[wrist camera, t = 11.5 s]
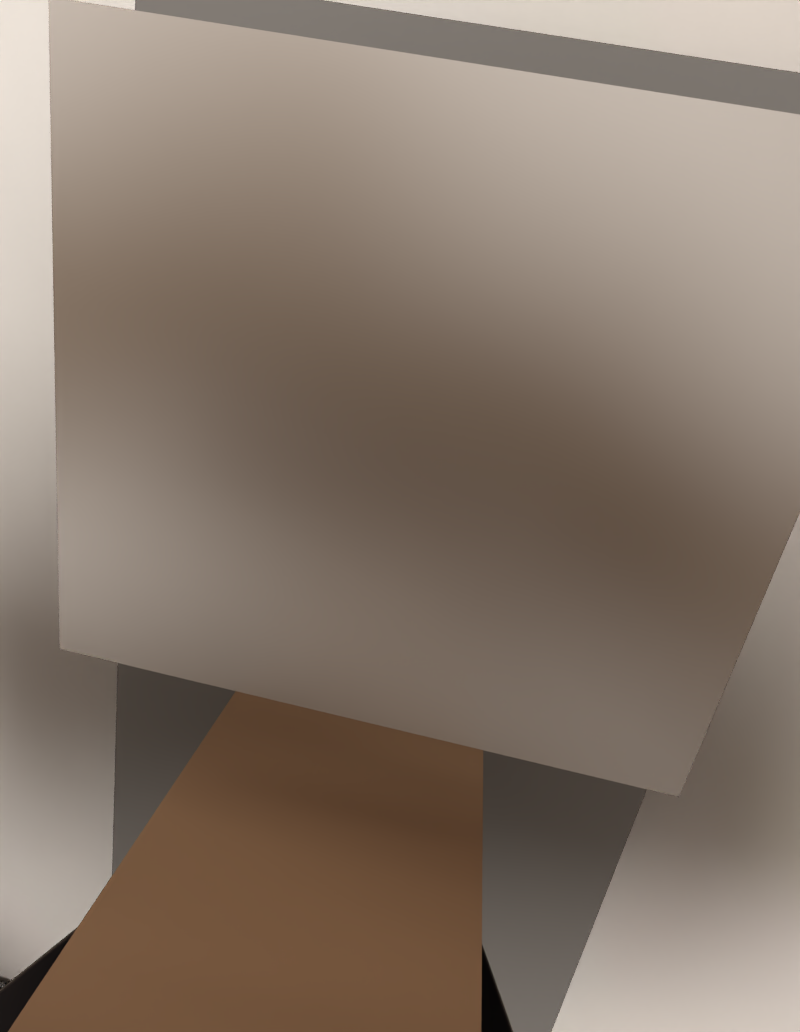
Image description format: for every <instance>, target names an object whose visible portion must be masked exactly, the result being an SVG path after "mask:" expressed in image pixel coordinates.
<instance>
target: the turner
mask: <svg viewBox="0 0 800 1032" xmlns="http://www.w3.org/2000/svg"><path fill="white" fill-rule="evenodd" d="M49 55H50V114H51V173H52V232H53V291H54V350H55V409H56V468H57V527H58V586H59V645H60V649H62V650H66V651H70V652H74V653H78V654H83V655H87V656H91V657H95V658H99V659H103V660H108V661H112V662H116V663H120V664H124V665H129V666H133V667H137V668H141V669H145V670H150V671H154V672H158V673H162V674H166V675H170V676H175V677H179V678H183V679H187V680H191V681H196V682H200V683H204V684H208V685H212V686H216V687H221V688H225V689H229V690H233V691H235V693H234V694H233V696H232V697H231V699H230V700H229V702H228V703H227V705H226V706H225V708H224V709H223V711H222V712H221V714H220V715H219V717H218V718H217V720H216V721H215V723H214V724H213V726H212V727H211V729H210V730H209V732H208V733H207V735H206V736H205V738H204V739H203V741H202V742H201V744H200V745H199V747H198V748H197V750H196V751H195V753H194V754H193V756H192V757H191V759H190V760H189V762H188V763H187V765H186V766H185V768H184V769H183V771H182V772H181V774H180V775H179V777H178V778H177V780H176V781H175V783H174V784H173V786H172V787H171V789H170V790H169V792H168V793H167V795H166V796H165V798H164V799H163V801H162V802H161V804H160V805H159V807H158V808H157V810H156V811H155V813H154V814H153V816H152V817H151V819H150V820H149V821H148V823H147V824H146V826H145V827H144V829H143V830H142V832H141V833H140V835H139V836H138V838H137V839H136V841H135V842H134V844H133V845H132V847H131V848H130V850H129V851H128V853H127V854H126V856H125V857H124V859H123V860H122V862H121V863H120V865H119V866H118V868H117V869H116V871H115V872H114V874H113V875H112V877H111V878H110V880H109V881H108V883H107V884H106V886H105V887H104V889H103V890H102V892H101V893H100V895H99V896H98V898H97V899H96V901H95V902H94V904H93V905H92V907H91V908H90V910H89V911H88V913H87V914H86V916H85V917H84V919H83V920H82V922H81V923H80V925H79V926H78V928H77V929H76V931H75V932H74V934H73V935H72V937H71V938H70V940H69V941H68V943H67V944H66V946H65V947H64V949H63V950H62V952H61V953H60V955H59V956H58V957H57V959H56V960H55V962H54V963H53V965H52V966H51V968H50V969H49V971H48V972H47V974H46V975H45V977H44V978H43V980H42V981H41V983H40V984H39V986H38V987H37V989H36V990H35V992H34V993H33V995H32V996H31V998H30V999H29V1001H28V1002H27V1004H26V1005H25V1007H24V1008H23V1010H22V1011H21V1013H20V1014H19V1016H18V1017H17V1019H16V1020H15V1022H14V1023H13V1025H12V1026H11V1028H10V1029H9V1031H8V1032H481V1003H482V856H483V750H484V751H489V752H493V753H497V754H501V755H505V756H509V757H514V758H518V759H522V760H526V761H530V762H535V763H539V764H543V765H547V766H551V767H556V768H560V769H564V770H568V771H572V772H576V773H581V774H585V775H589V776H593V777H597V778H602V779H606V780H610V781H614V782H618V783H622V784H627V785H631V786H635V787H639V788H643V789H648V790H652V791H656V792H660V793H664V794H669V795H673V796H677V797H679V796H680V793H681V791H682V789H683V786H684V784H685V782H686V779H687V777H688V775H689V772H690V770H691V767H692V765H693V763H694V760H695V758H696V756H697V753H698V751H699V749H700V746H701V744H702V741H703V739H704V737H705V734H706V732H707V730H708V727H709V725H710V723H711V720H712V718H713V716H714V713H715V711H716V708H717V706H718V704H719V701H720V699H721V697H722V694H723V692H724V690H725V687H726V685H727V682H728V680H729V678H730V675H731V673H732V671H733V668H734V666H735V664H736V661H737V659H738V657H739V654H740V652H741V649H742V647H743V645H744V642H745V640H746V638H747V635H748V633H749V631H750V628H751V626H752V624H753V621H754V619H755V616H756V614H757V612H758V609H759V607H760V605H761V602H762V600H763V598H764V595H765V593H766V590H767V588H768V586H769V583H770V581H771V579H772V576H773V574H774V572H775V569H776V567H777V565H778V562H779V560H780V557H781V555H782V553H783V550H784V548H785V546H786V543H787V541H788V539H789V536H790V534H791V531H792V529H793V527H794V524H795V522H796V520H797V517H798V515H799V513H800V115H799V114H793V113H787V112H780V111H774V110H768V109H761V108H755V107H748V106H742V105H736V104H729V103H723V102H717V101H710V100H704V99H697V98H691V97H685V96H678V95H672V94H666V93H659V92H653V91H646V90H640V89H634V88H627V87H621V86H615V85H608V84H602V83H595V82H589V81H583V80H576V79H570V78H564V77H557V76H551V75H544V74H538V73H532V72H525V71H519V70H513V69H506V68H500V67H493V66H487V65H481V64H474V63H468V62H461V61H455V60H449V59H442V58H436V57H430V56H423V55H417V54H410V53H404V52H398V51H391V50H385V49H379V48H372V47H366V46H359V45H353V44H347V43H340V42H334V41H328V40H321V39H315V38H308V37H302V36H296V35H289V34H283V33H277V32H270V31H264V30H257V29H251V28H245V27H238V26H232V25H226V24H219V23H213V22H206V21H200V20H194V19H187V18H181V17H175V16H168V15H162V14H155V13H149V12H143V11H136V10H130V9H124V8H117V7H111V6H104V5H98V4H92V3H85V2H79V1H73V0H49Z"/></svg>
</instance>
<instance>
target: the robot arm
mask: <svg viewBox="0 0 800 1032" xmlns="http://www.w3.org/2000/svg"><path fill="white" fill-rule="evenodd" d="M77 928H78V927H77ZM77 928H76V929H77ZM76 929H75V930H73V931H72V932H71V933H70V934H69V935H67V936H66V937H65V938H64V939H62V940H61V941H60V942H59V943H57V944H56V945H55V946H54V947H52V948H51V949H50V950H49V951H47V952H46V953H45V954H44V955H43V956H41V957H40V958H39V959H38V960H36V961H35V962H34V963H33V964H31V965H30V966H29V967H28V968H26V969H25V970H24V971H23V972H21V973H20V974H19V975H18V976H17V977H15V978H14V979H13V980H12V981H10V982H9V983H8V984H7V985H5V986H4V987H3V988H1V987H0V1032H8V1031H9V1029H10V1028H11V1026H12V1025H13V1023H14V1022H15V1020H16V1019H17V1017H18V1016H19V1014H20V1013H21V1011H22V1010H23V1008H24V1007H25V1005H26V1004H27V1002H28V1001H29V999H30V998H31V996H32V995H33V993H34V992H35V990H36V989H37V987H38V986H39V984H40V983H41V981H42V980H43V978H44V977H45V975H46V974H47V972H48V971H49V969H50V968H51V966H52V965H53V963H54V962H55V960H56V959H57V957H58V956H59V955H60V953H61V952H62V950H63V949H64V947H65V946H66V944H67V943H68V941H69V940H70V938H71V937H72V935H73V934H74V932H75V931H76ZM481 1032H513V1029H512V1026H511V1023H510V1021H509V1018H508V1015H507V1012H506V1009H505V1007H504V1004H503V1001H502V998H501V995H500V992H499V990H498V987H497V984H496V981H495V978H494V976H493V973H492V970H491V967H490V964H489V962H488V959H487V956H486V953H485V950H484V948H483V945H482V1003H481Z"/></svg>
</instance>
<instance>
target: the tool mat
mask: <svg viewBox="0 0 800 1032" xmlns="http://www.w3.org/2000/svg"><path fill="white" fill-rule="evenodd" d="M135 10H136V11H143V12H149V13H155V14H162V15H168V16H175V17H181V18H187V19H194V20H200V21H206V22H213V23H219V24H226V25H232V26H238V27H245V28H251V29H257V30H264V31H270V32H277V33H283V34H289V35H296V36H302V37H308V38H315V39H321V40H328V41H334V42H340V43H347V44H353V45H359V46H366V47H372V48H379V49H385V50H391V51H398V52H404V53H410V54H417V55H423V56H430V57H436V58H442V59H449V60H455V61H461V62H468V63H474V64H481V65H487V66H493V67H500V68H506V69H513V70H519V71H525V72H532V73H538V74H544V75H551V76H557V77H564V78H570V79H576V80H583V81H589V82H595V83H602V84H608V85H615V86H621V87H627V88H634V89H640V90H646V91H653V92H659V93H666V94H672V95H678V96H685V97H691V98H697V99H704V100H710V101H717V102H723V103H729V104H736V105H742V106H748V107H755V108H761V109H768V110H774V111H780V112H787V113H793V114H799V115H800V73H797V72H791V71H784V70H777V69H771V68H764V67H758V66H751V65H744V64H738V63H731V62H725V61H718V60H712V59H705V58H698V57H692V56H685V55H679V54H672V53H666V52H659V51H652V50H646V49H639V48H633V47H626V46H620V45H613V44H606V43H600V42H593V41H587V40H580V39H574V38H567V37H560V36H554V35H547V34H541V33H534V32H528V31H521V30H514V29H508V28H501V27H495V26H488V25H482V24H475V23H468V22H462V21H455V20H449V19H442V18H436V17H429V16H422V15H416V14H409V13H403V12H396V11H389V10H383V9H376V8H370V7H363V6H357V5H350V4H343V3H337V2H330V1H324V0H135ZM234 693H235V691H233V690H229V689H225V688H221V687H216V686H212V685H208V684H204V683H200V682H196V681H191V680H187V679H183V678H179V677H175V676H170V675H166V674H162V673H158V672H154V671H150V670H145V669H141V668H137V667H133V666H129V665H124V664H120V663H118V674H117V712H116V749H115V787H114V825H113V863H112V875H113V874H114V872H115V871H116V869H117V868H118V866H119V865H120V863H121V862H122V860H123V859H124V857H125V856H126V854H127V853H128V851H129V850H130V848H131V847H132V845H133V844H134V842H135V841H136V839H137V838H138V836H139V835H140V833H141V832H142V830H143V829H144V827H145V826H146V824H147V823H148V821H149V820H150V819H151V817H152V816H153V814H154V813H155V811H156V810H157V808H158V807H159V805H160V804H161V802H162V801H163V799H164V798H165V796H166V795H167V793H168V792H169V790H170V789H171V787H172V786H173V784H174V783H175V781H176V780H177V778H178V777H179V775H180V774H181V772H182V771H183V769H184V768H185V766H186V765H187V763H188V762H189V760H190V759H191V757H192V756H193V754H194V753H195V751H196V750H197V748H198V747H199V745H200V744H201V742H202V741H203V739H204V738H205V736H206V735H207V733H208V732H209V730H210V729H211V727H212V726H213V724H214V723H215V721H216V720H217V718H218V717H219V715H220V714H221V712H222V711H223V709H224V708H225V706H226V705H227V703H228V702H229V700H230V699H231V697H232V696H233V694H234ZM646 790H647V789H643V788H639V787H635V786H631V785H627V784H622V783H618V782H614V781H610V780H606V779H602V778H597V777H593V776H589V775H585V774H581V773H576V772H572V771H568V770H564V769H560V768H556V767H551V766H547V765H543V764H539V763H535V762H530V761H526V760H522V759H518V758H514V757H509V756H505V755H501V754H497V753H493V752H489V751H484V750H483V856H482V945H483V948H484V950H485V953H486V956H487V959H488V962H489V964H490V967H491V970H492V973H493V976H494V978H495V981H496V984H497V987H498V990H499V992H500V995H501V998H502V1001H503V1004H504V1007H505V1009H506V1012H507V1015H508V1018H509V1021H510V1023H511V1026H512V1029H513V1032H551V1031H552V1028H553V1026H554V1023H555V1021H556V1018H557V1016H558V1013H559V1011H560V1008H561V1006H562V1003H563V1000H564V998H565V995H566V993H567V990H568V988H569V985H570V983H571V980H572V978H573V975H574V973H575V970H576V968H577V965H578V962H579V960H580V957H581V955H582V952H583V950H584V947H585V945H586V942H587V940H588V937H589V935H590V932H591V929H592V927H593V924H594V922H595V919H596V917H597V914H598V912H599V909H600V907H601V904H602V902H603V899H604V897H605V894H606V891H607V889H608V886H609V884H610V881H611V879H612V876H613V874H614V871H615V869H616V866H617V864H618V861H619V859H620V856H621V853H622V851H623V848H624V846H625V843H626V841H627V838H628V836H629V833H630V831H631V828H632V826H633V823H634V820H635V818H636V815H637V813H638V810H639V808H640V805H641V803H642V800H643V798H644V795H645V793H646Z"/></svg>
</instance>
